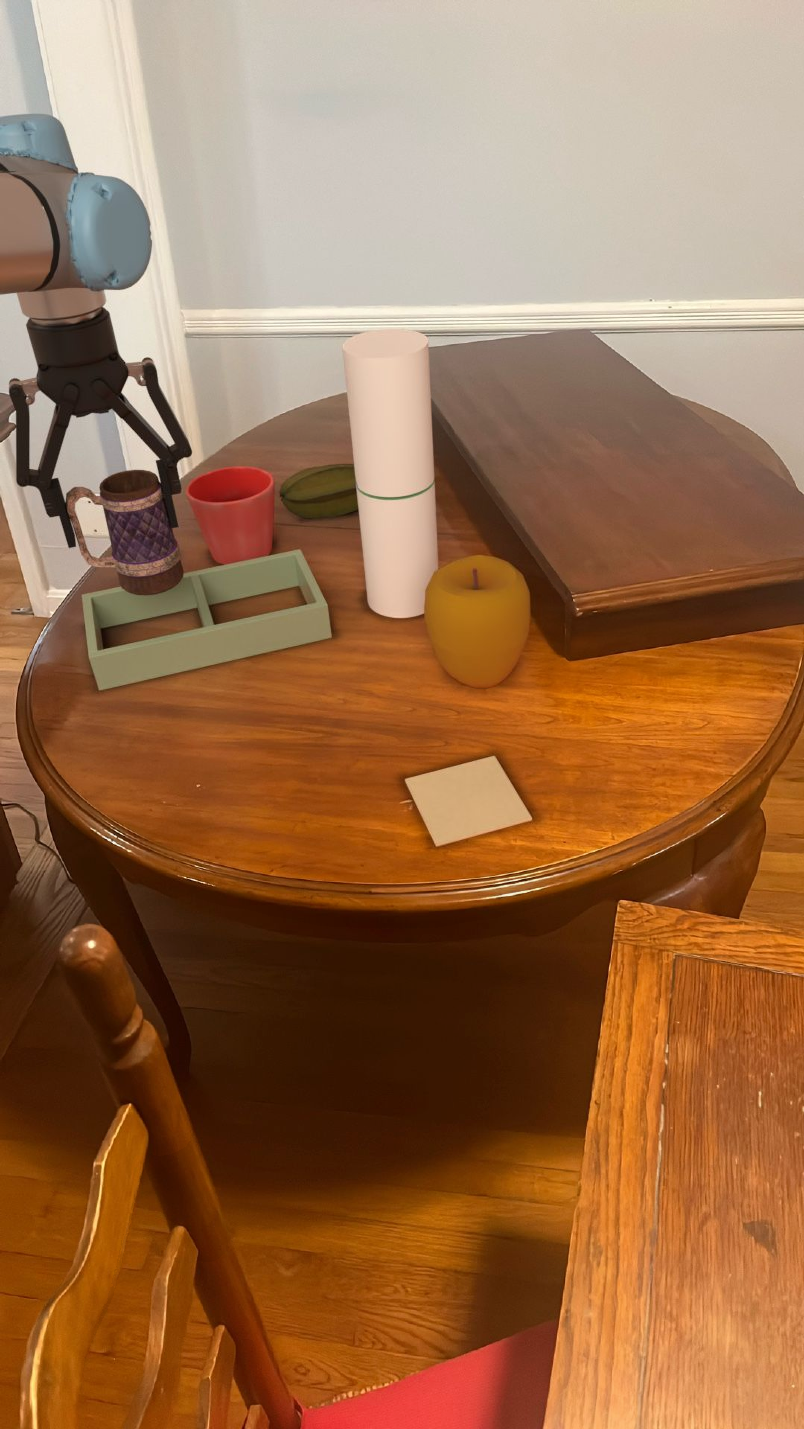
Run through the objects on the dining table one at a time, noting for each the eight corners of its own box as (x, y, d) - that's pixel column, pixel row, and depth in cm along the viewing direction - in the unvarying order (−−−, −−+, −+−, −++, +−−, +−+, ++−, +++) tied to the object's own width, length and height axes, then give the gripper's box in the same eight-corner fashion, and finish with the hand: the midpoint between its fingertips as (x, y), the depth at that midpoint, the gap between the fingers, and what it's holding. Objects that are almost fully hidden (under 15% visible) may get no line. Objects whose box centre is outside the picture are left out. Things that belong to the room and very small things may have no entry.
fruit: (328, 485, 143) (323, 441, 139) (394, 505, 137) (391, 460, 133) (274, 518, 136) (267, 473, 132) (342, 540, 130) (336, 494, 126)
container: (352, 603, 118) (324, 348, 99) (399, 572, 123) (381, 324, 104) (408, 627, 113) (389, 364, 94) (454, 593, 118) (445, 337, 99)
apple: (438, 639, 111) (433, 536, 103) (535, 646, 109) (538, 542, 101) (417, 699, 103) (410, 593, 95) (522, 708, 100) (524, 600, 92)
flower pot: (223, 529, 135) (210, 461, 128) (297, 537, 131) (287, 468, 125) (185, 568, 127) (169, 498, 121) (263, 578, 124) (250, 507, 118)
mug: (182, 559, 112) (160, 459, 104) (188, 590, 106) (164, 486, 99) (90, 576, 110) (60, 474, 103) (90, 608, 105) (59, 503, 97)
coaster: (436, 847, 86) (435, 844, 86) (404, 781, 93) (404, 778, 93) (532, 821, 88) (532, 818, 88) (494, 758, 95) (494, 755, 94)
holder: (99, 691, 107) (88, 657, 104) (91, 626, 117) (81, 594, 115) (332, 638, 112) (327, 604, 110) (305, 580, 123) (300, 548, 120)
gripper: (183, 284, 96) (223, 497, 109) (-61, 319, 91) (12, 536, 105) (194, 305, 90) (234, 526, 104) (-66, 343, 85) (12, 570, 99)
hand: (123, 531), depth 104 cm, fingers closed on mug, 10 cm apart
